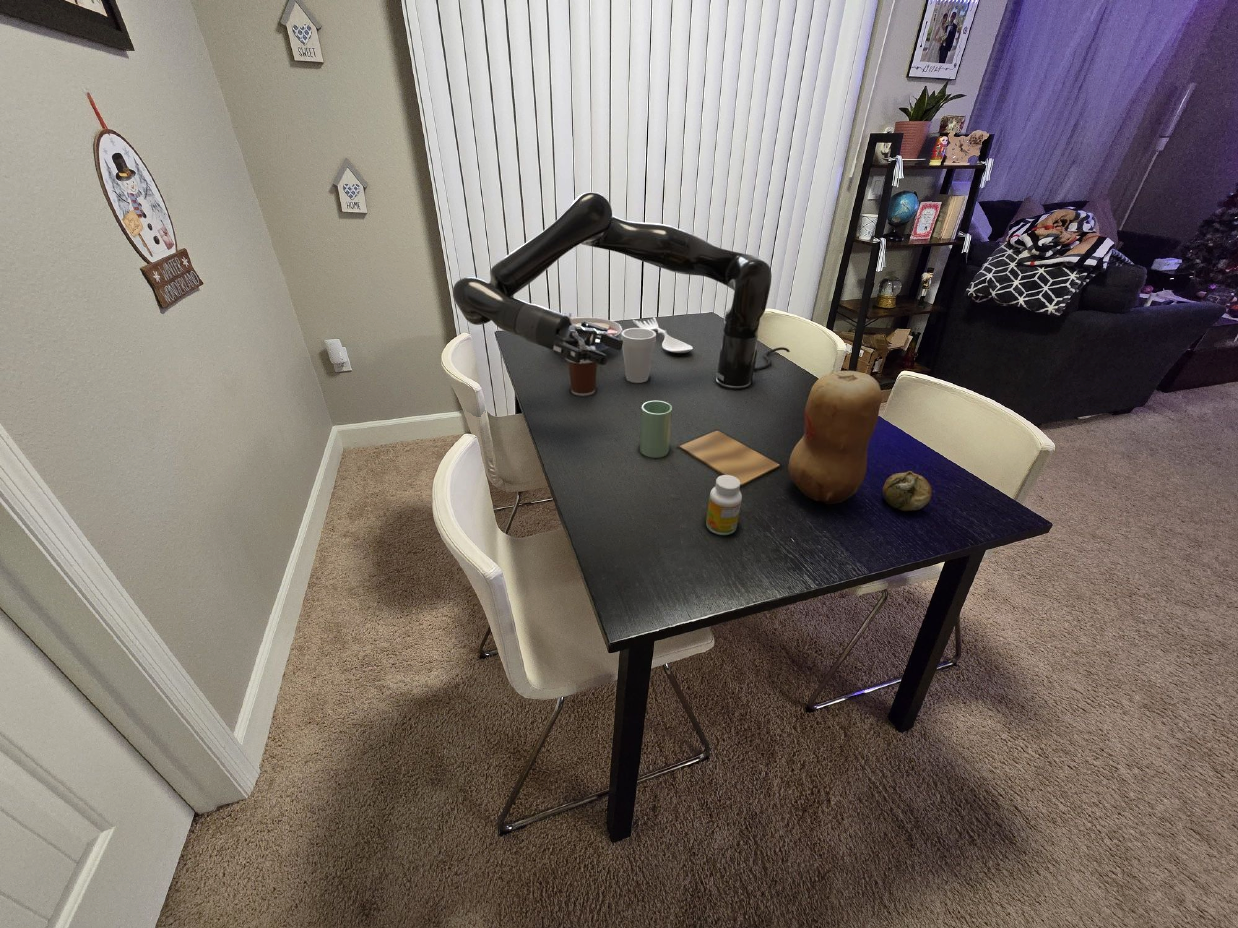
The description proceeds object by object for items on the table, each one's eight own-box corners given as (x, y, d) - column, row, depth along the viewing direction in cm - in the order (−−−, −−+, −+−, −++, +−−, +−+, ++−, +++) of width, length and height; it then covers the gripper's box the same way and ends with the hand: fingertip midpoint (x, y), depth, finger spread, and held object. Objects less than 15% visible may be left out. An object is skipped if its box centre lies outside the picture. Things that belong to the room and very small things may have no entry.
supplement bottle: (702, 516, 91) (708, 472, 86) (731, 515, 91) (739, 471, 86) (709, 536, 87) (716, 491, 81) (740, 535, 87) (748, 490, 82)
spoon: (654, 325, 182) (654, 315, 180) (697, 356, 157) (698, 345, 155) (631, 328, 179) (631, 318, 177) (672, 359, 154) (672, 348, 152)
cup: (655, 439, 114) (658, 398, 108) (674, 451, 110) (678, 408, 104) (634, 448, 111) (635, 405, 105) (652, 460, 106) (655, 417, 101)
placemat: (679, 447, 111) (679, 445, 111) (717, 432, 117) (717, 430, 117) (741, 486, 99) (741, 484, 99) (779, 466, 105) (780, 464, 105)
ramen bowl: (621, 366, 149) (622, 340, 145) (545, 365, 149) (543, 338, 145) (622, 338, 170) (622, 314, 165) (555, 337, 170) (553, 313, 166)
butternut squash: (776, 474, 103) (802, 358, 89) (842, 476, 102) (878, 360, 89) (793, 517, 91) (826, 392, 77) (868, 519, 91) (914, 394, 77)
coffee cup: (580, 401, 130) (578, 357, 123) (559, 389, 135) (557, 346, 129) (607, 391, 135) (607, 348, 128) (586, 380, 140) (585, 339, 134)
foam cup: (650, 386, 138) (653, 340, 131) (617, 383, 139) (618, 338, 132) (655, 373, 145) (658, 329, 138) (624, 370, 147) (625, 326, 140)
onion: (930, 520, 91) (947, 485, 87) (884, 515, 92) (898, 479, 88) (917, 496, 97) (932, 461, 93) (874, 491, 98) (886, 457, 94)
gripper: (527, 319, 96) (604, 348, 93) (560, 300, 107) (630, 324, 104) (524, 355, 100) (597, 383, 97) (556, 332, 111) (623, 357, 108)
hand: (614, 353), depth 101 cm, fingers open, 8 cm apart
